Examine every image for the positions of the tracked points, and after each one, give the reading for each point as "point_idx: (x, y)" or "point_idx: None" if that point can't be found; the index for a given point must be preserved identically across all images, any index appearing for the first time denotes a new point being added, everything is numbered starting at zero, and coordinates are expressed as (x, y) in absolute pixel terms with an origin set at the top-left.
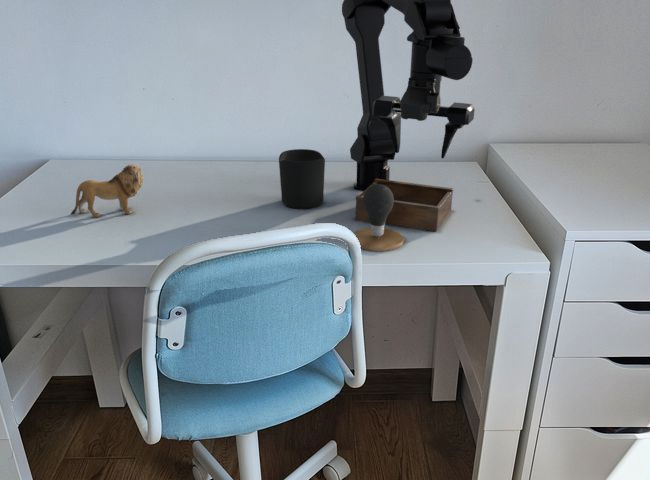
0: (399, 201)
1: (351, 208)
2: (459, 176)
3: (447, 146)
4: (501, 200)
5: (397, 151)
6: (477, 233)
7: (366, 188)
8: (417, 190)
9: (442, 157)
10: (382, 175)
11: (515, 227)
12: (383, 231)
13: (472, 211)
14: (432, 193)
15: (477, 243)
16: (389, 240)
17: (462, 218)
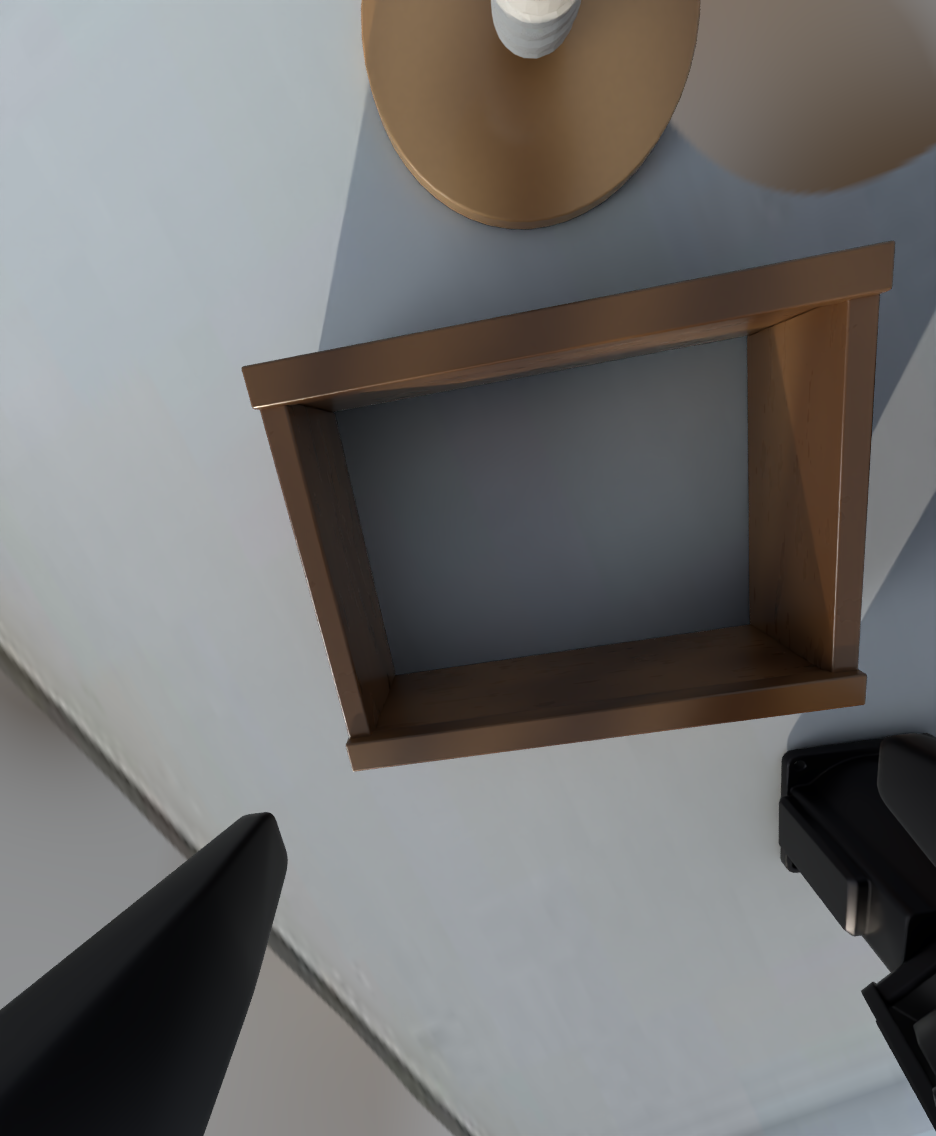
0: (540, 340)
1: None
2: (533, 1060)
3: (29, 988)
4: None
5: (908, 744)
6: (140, 489)
7: (867, 746)
8: (558, 700)
9: (246, 816)
10: (843, 840)
11: (53, 653)
12: (495, 10)
13: (301, 737)
14: (467, 709)
15: (67, 358)
16: (439, 24)
17: (295, 635)
